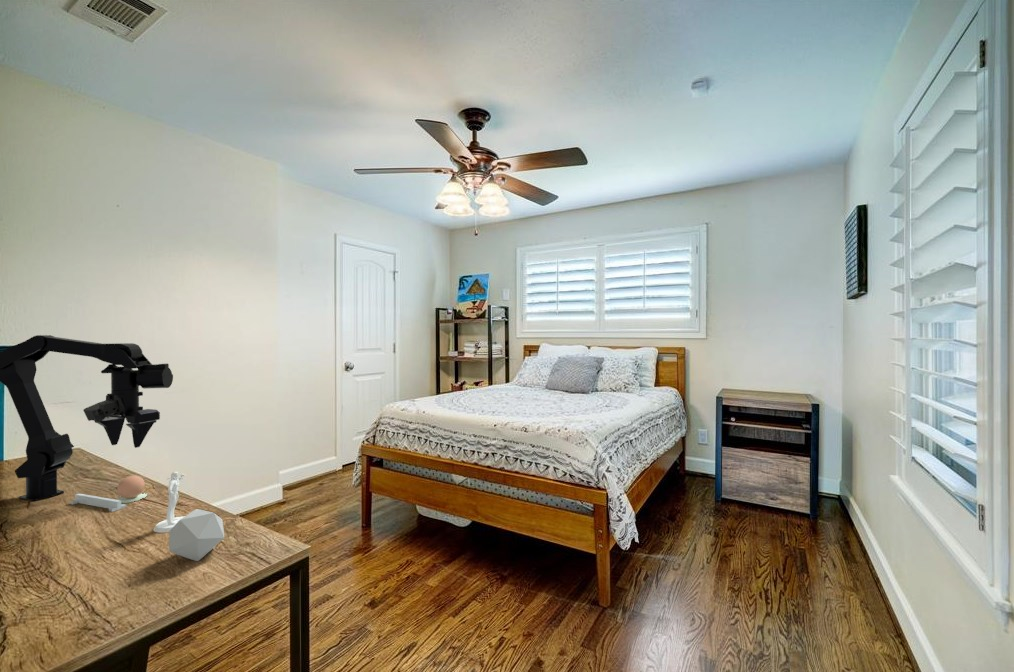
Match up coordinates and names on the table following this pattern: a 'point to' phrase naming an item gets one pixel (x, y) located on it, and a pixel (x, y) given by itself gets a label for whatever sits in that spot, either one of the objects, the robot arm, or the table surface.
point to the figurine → (170, 505)
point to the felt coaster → (129, 500)
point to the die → (196, 534)
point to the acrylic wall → (98, 502)
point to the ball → (131, 487)
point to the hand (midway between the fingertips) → (125, 446)
